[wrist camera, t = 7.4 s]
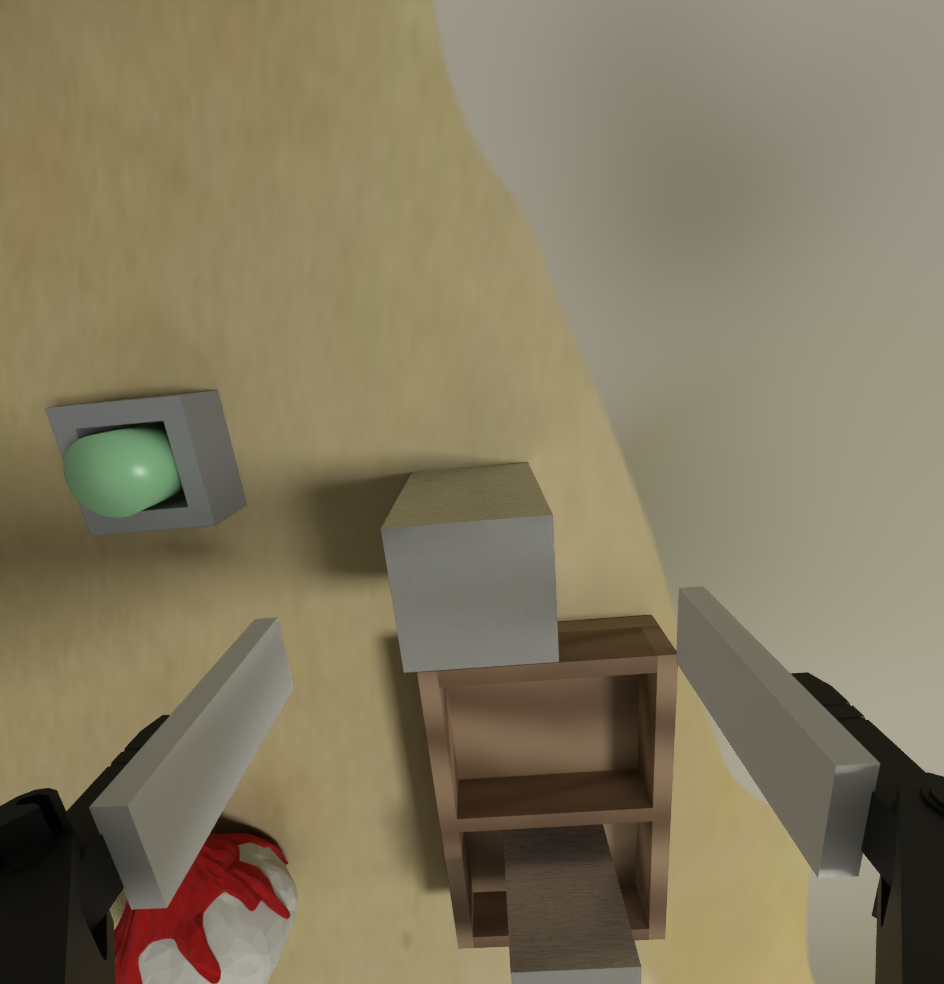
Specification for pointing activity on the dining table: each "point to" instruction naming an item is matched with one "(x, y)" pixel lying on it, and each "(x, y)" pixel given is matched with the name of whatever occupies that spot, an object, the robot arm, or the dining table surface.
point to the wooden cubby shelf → (557, 765)
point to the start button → (123, 470)
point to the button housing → (195, 451)
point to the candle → (213, 919)
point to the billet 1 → (472, 569)
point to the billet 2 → (566, 909)
